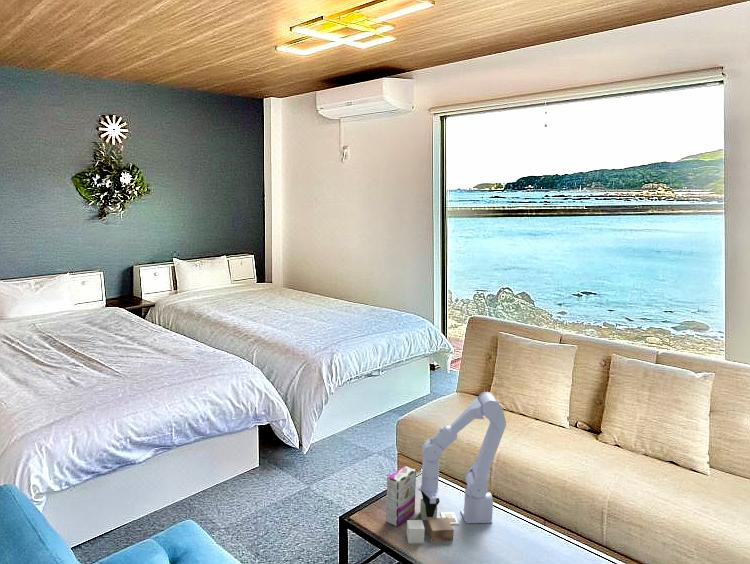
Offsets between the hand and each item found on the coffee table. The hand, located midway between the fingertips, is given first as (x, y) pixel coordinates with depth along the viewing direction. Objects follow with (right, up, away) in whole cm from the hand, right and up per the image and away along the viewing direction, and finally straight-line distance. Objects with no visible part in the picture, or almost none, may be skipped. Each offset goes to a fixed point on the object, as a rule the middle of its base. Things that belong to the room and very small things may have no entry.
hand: (428, 512), depth 192 cm
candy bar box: (-10, -2, -1) cm, 10 cm away
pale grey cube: (-6, -3, -13) cm, 15 cm away
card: (+7, -2, -1) cm, 7 cm away
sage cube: (0, -2, 0) cm, 2 cm away
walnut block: (+3, -3, -11) cm, 11 cm away
